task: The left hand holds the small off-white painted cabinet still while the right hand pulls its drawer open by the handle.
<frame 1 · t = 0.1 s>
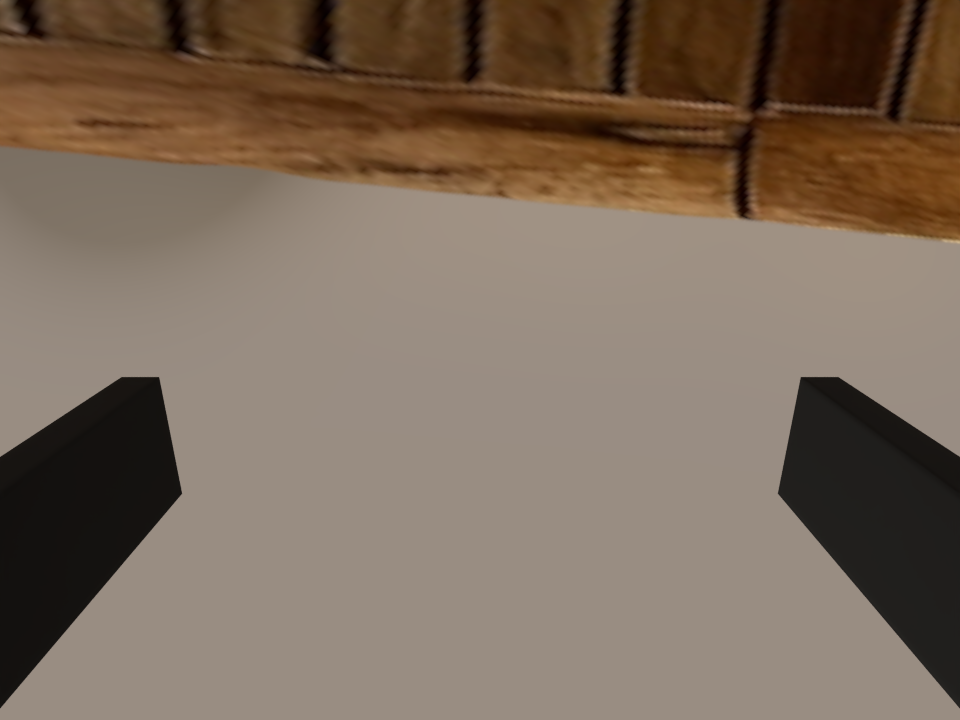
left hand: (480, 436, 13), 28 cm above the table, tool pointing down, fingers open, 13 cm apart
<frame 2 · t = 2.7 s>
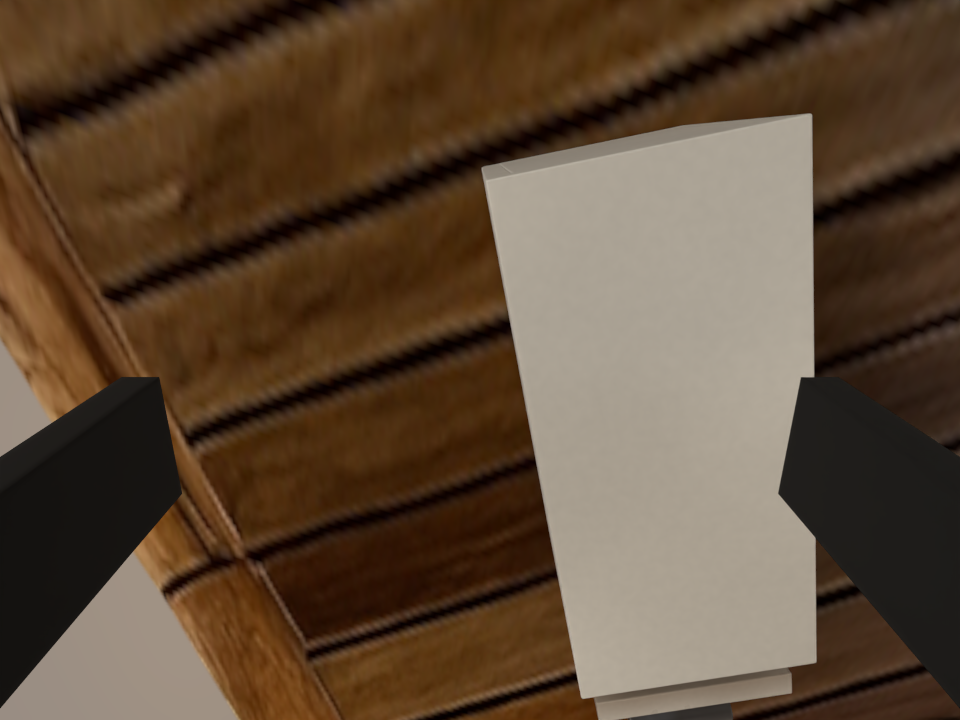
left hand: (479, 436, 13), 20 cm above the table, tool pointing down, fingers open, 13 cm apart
drawer: (649, 507, 29), point 6 cm above the table, slide at 1.5 cm
cabinet: (608, 353, 33), on the table
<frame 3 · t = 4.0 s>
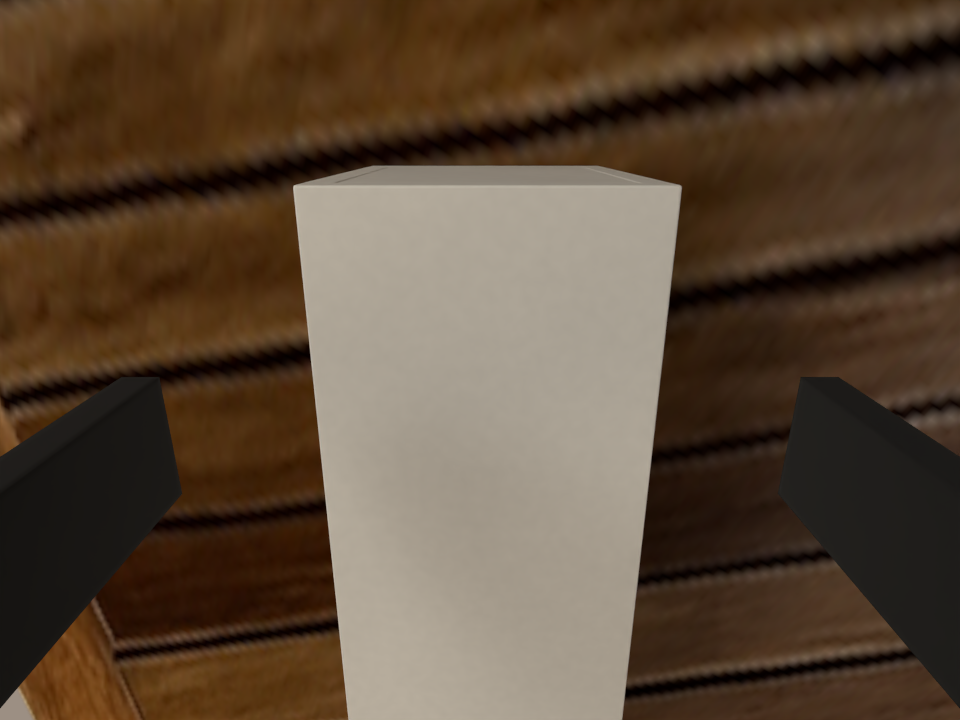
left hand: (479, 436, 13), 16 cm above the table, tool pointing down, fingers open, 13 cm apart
cabinet: (484, 394, 30), on the table
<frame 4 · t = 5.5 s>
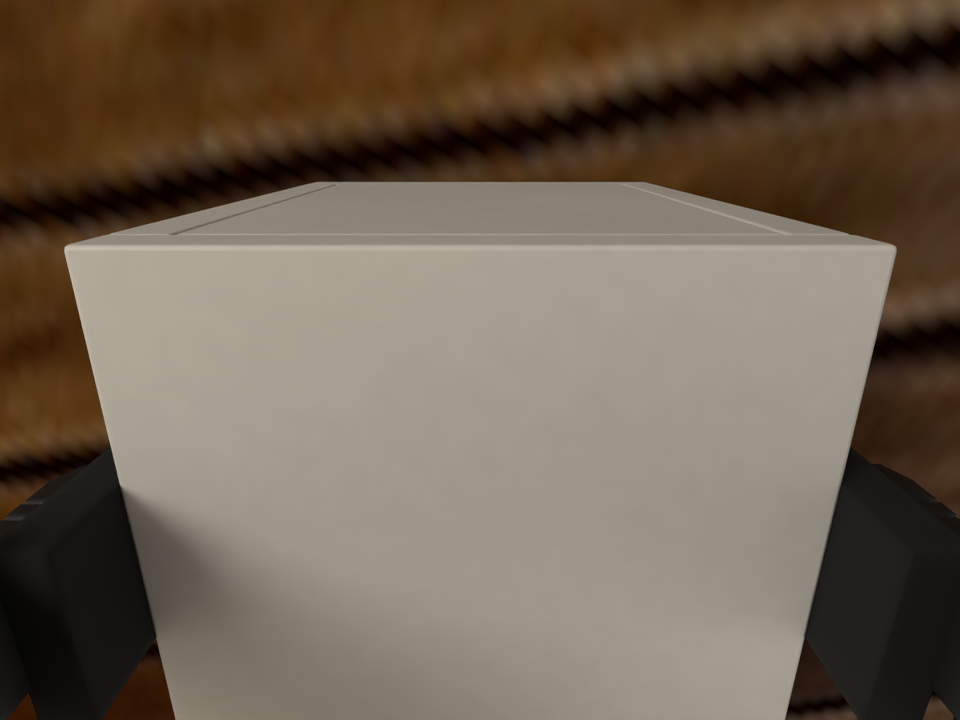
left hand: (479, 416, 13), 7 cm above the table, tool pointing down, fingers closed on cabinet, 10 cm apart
cabinet: (480, 493, 22), on the table, touching left hand
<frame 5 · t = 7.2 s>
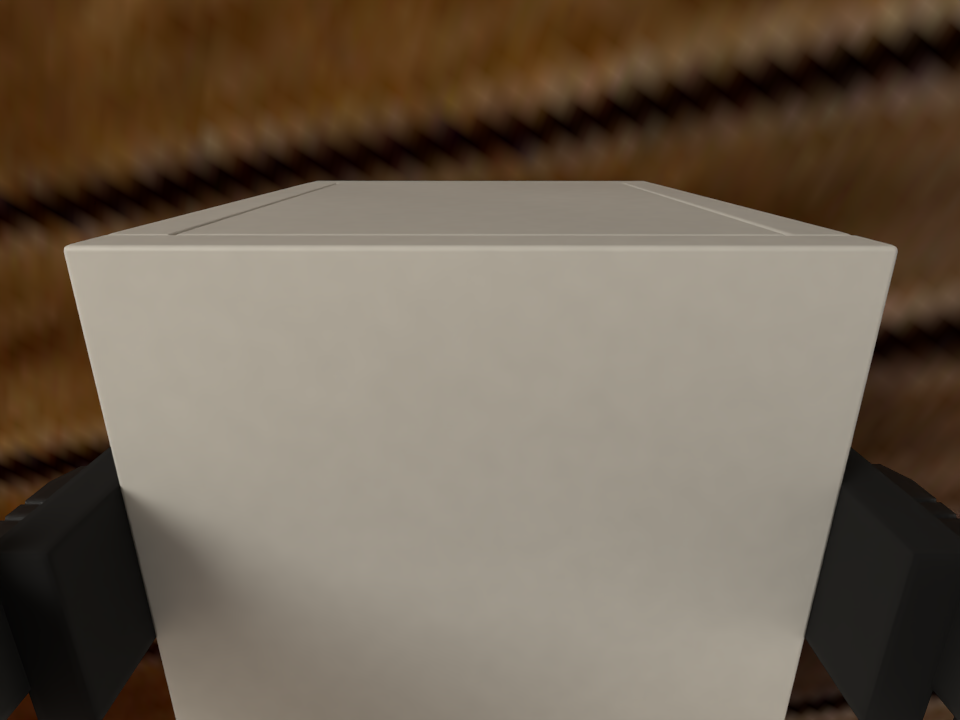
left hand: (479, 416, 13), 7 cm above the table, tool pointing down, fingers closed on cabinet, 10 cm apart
cabinet: (480, 492, 22), on the table, touching left hand
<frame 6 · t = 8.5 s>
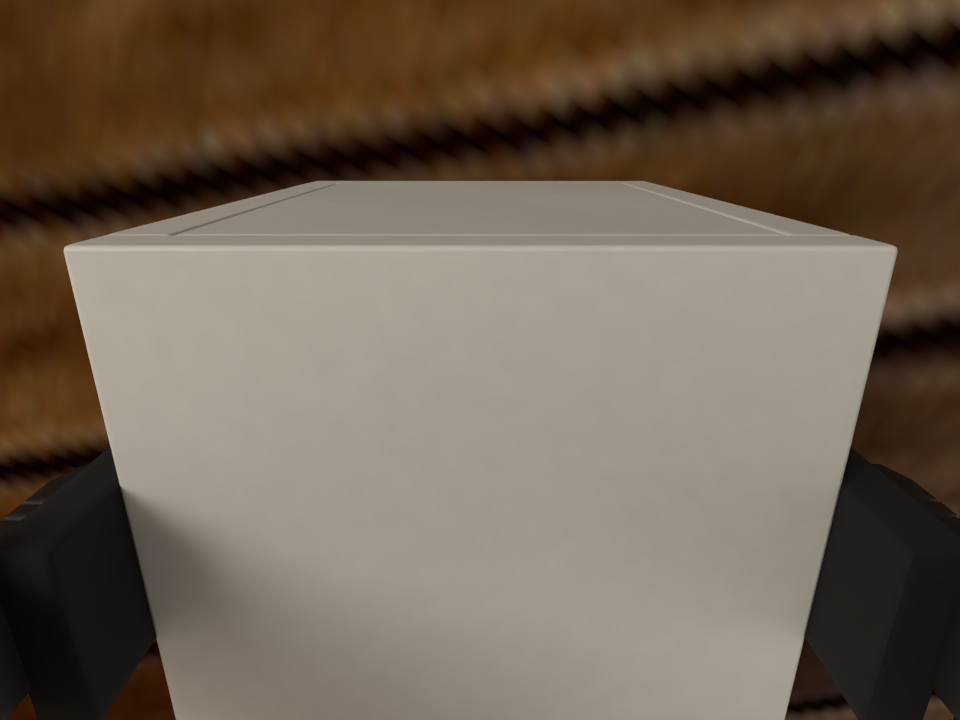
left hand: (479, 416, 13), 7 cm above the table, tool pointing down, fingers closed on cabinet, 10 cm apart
cabinet: (480, 492, 22), on the table, touching left hand
when the left hand's fingers open (7 cm above the table, at t = 10.1 s): cabinet stays where it is, on the table.
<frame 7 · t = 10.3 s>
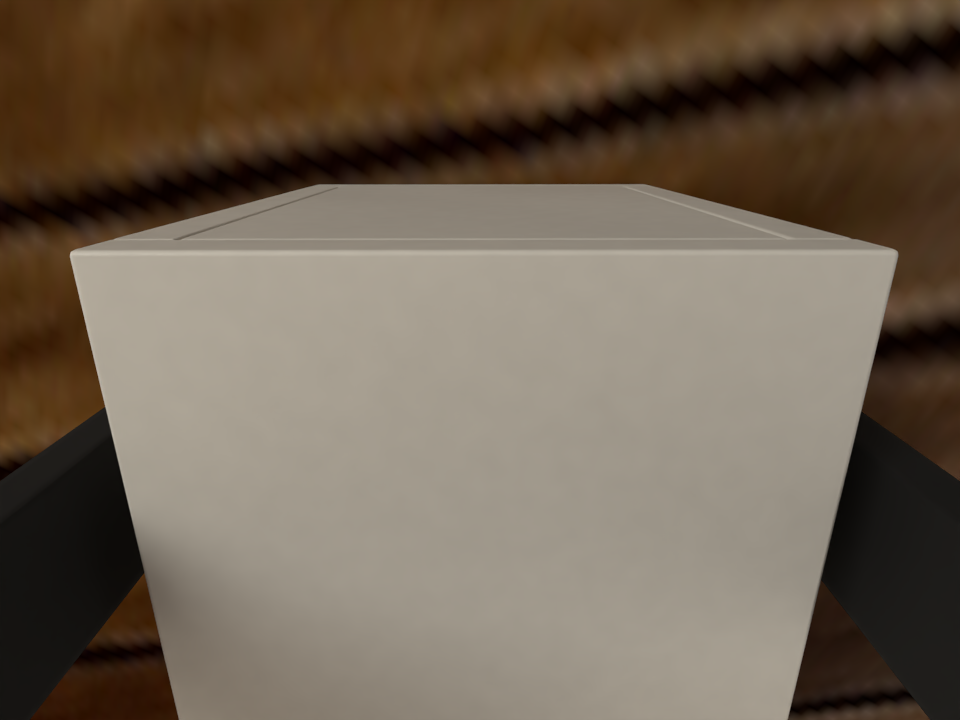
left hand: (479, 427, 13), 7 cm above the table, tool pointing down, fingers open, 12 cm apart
cabinet: (481, 495, 22), on the table
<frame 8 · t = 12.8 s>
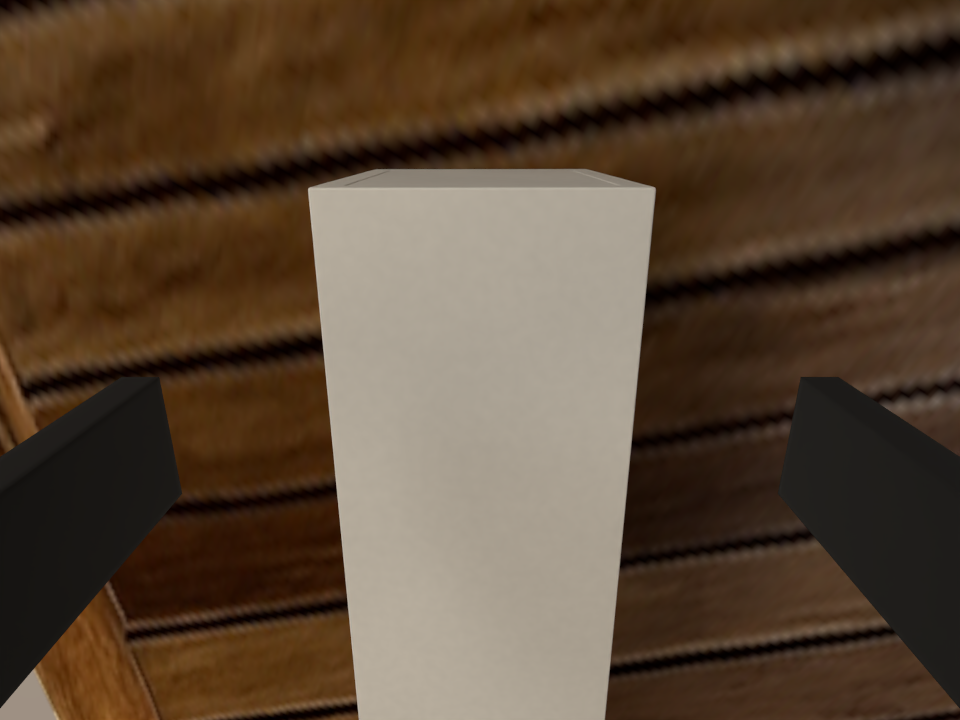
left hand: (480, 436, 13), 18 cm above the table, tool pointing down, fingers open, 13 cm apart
cabinet: (481, 384, 32), on the table
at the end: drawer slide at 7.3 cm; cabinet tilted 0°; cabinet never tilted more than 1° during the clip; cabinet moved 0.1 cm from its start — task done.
